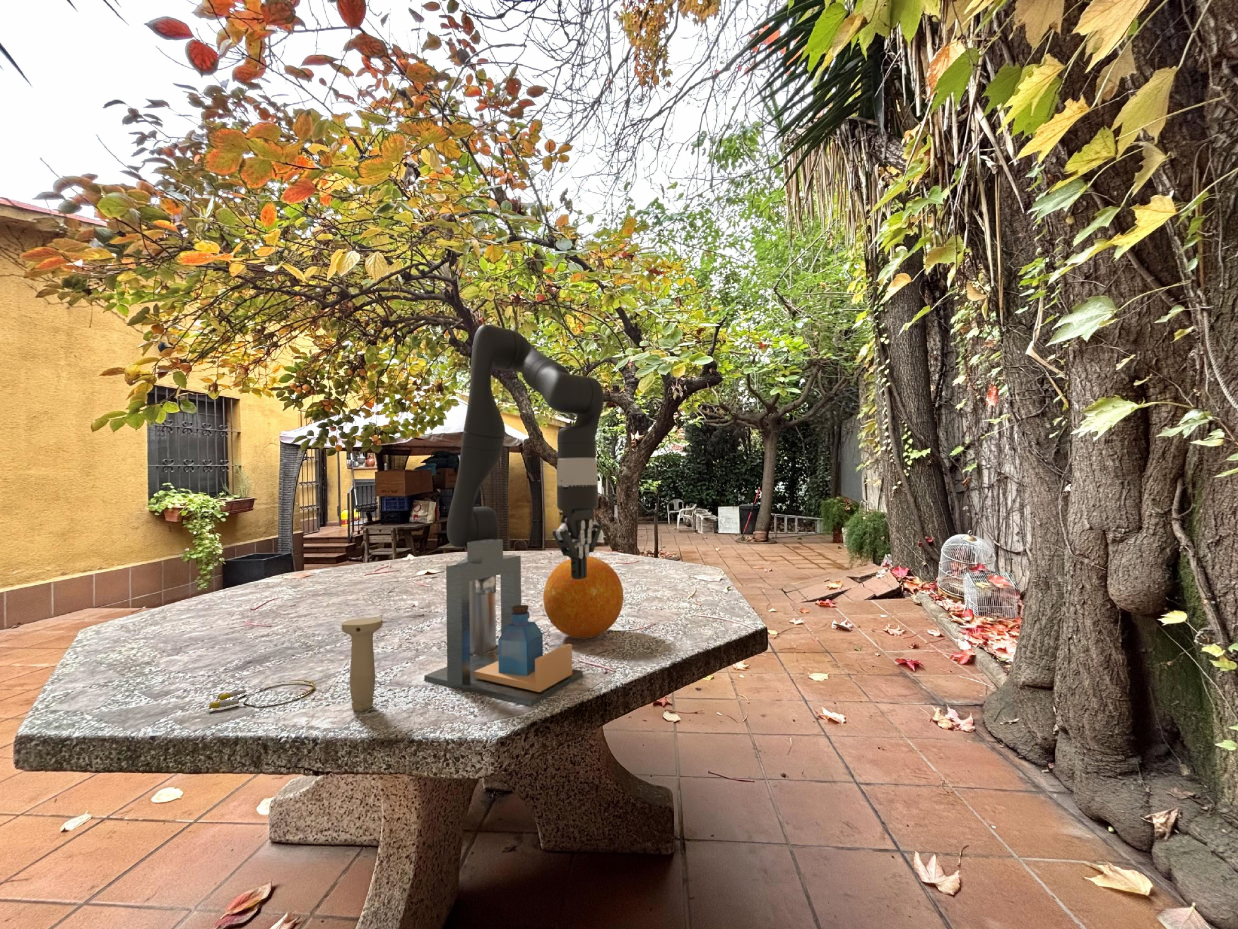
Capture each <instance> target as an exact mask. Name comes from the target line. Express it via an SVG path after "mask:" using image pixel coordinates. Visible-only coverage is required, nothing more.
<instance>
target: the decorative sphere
mask: <svg viewBox="0 0 1238 929" xmlns="http://www.w3.org/2000/svg"><path fill="white" fill-rule="evenodd" d="M542 600H543V606H544V607H543V608H544V610H545V613H546V616H547V617H548V620H549V621H550V623H551V624H552V626H554V627H555V628H556V629H557V630H558V631H560V632H561V633H562V634H565V635H566V636H569V637H571V638H575V639H590V638H591V639H592V638H595V637H598V636H600V635H602V634H603V633H605V632H607V631H608V630H609V629H610V628H611V627H612V626H613V625H614V624H615V623H616V622H617V620H618V618H619V616H620V614H621V612H622V609H623V606H624V589H623V585H622V582H621V580H620V577H619V575H618V574H617V572H616V570H614V569H613V567H612V566H611V565H609V564H608V563H606V561H604V560H602V559H600V558H597V557H594V556H588V557H587V577H586V578H583V579H573V578H572V575H571V558H568V559H566V560H564V561H562V562H561V563H559V564H558V565H557V566H556V567H555V568H554V569H553V570H552V572H551V573H550V574H549V576H548V578H547V580H546V582H545V584H544V589H543V597H542Z"/></svg>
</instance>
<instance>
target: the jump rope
mask: <svg viewBox="0 0 1238 929" xmlns="http://www.w3.org/2000/svg"><path fill="white" fill-rule="evenodd" d="M285 681H286V680H285ZM285 681H283V682H285ZM290 681H304V682H303V683H308V682H309V684H311V683H312V684H313V687H312V688H311V689H308V690H307V691H305V692H302V693H300V694H298V695H296V696H293V697H291V698H295V697H298V696H300V697H301V695H304V694H306V693H308V692H310V691H312V690H313V689H314V688H315V689H316V683H315V682H314V681H311V680H307V679H305V680H304V679H294V680H290ZM281 682H282V681H279V682H278V683H281ZM253 689H254V688H253ZM253 689H251V690H253ZM315 689H314V690H315ZM314 690H313V691H314ZM246 691H247V690H246V689H245V688H244V689H239V690H233V691H229V692H226V693H219V694H218V696H217V700H218V699H220V700H221V701H219V702H218V701H213V702H210V703H209V706H208V710H209V709H211V708H219V707H226V706H230V705H234V704H238V703H241V702H240V700H239V699H240V698H238V699H232V700H230V699H229V700H225V699H227V698H230V697H233V696H237V695H240V694H242V693H245V692H246ZM313 691H312V692H313ZM287 699H288V698H286V699H285V700H287ZM295 699H296V698H295Z"/></svg>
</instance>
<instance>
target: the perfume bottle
mask: <svg viewBox="0 0 1238 929" xmlns="http://www.w3.org/2000/svg"><path fill="white" fill-rule="evenodd" d="M512 609H513V613H512V614H511V617H512V619H513V623H511V624H509V625H507V626H506V627H505V629H504V631H503V632H502V634H501V633H500V634H501V635H500V637H499V638H498V640H497V642H498V643H497V644H498V645H497V647H498V648H497V653H498V654H497V655H498V661H499V673H505V674H513V675H521V676H528V675H530V674H531V673H533V672H534V671H535V659H536V658H538V657H540V656H542V655H544V648H543V647H544V644H543V643H544V640H543V634H544V633H543V632H542V630H541V629H540V627H539V626H538V625H537V623H536V622H535V621H529V619H530V611H529V605H527V604H521V605H516V606H513V607H512Z"/></svg>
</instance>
